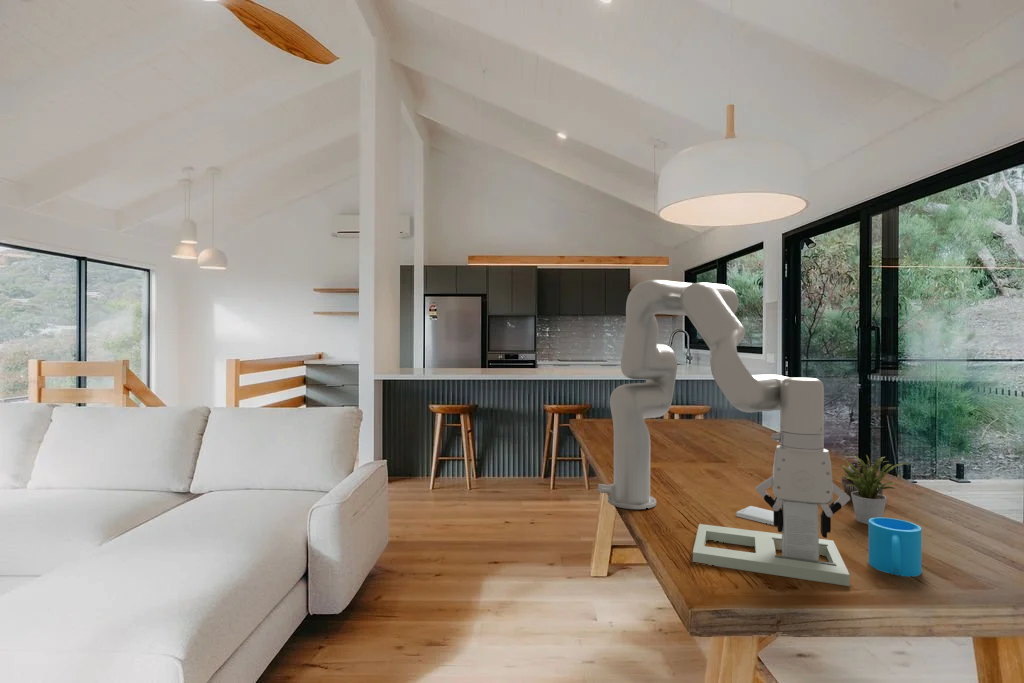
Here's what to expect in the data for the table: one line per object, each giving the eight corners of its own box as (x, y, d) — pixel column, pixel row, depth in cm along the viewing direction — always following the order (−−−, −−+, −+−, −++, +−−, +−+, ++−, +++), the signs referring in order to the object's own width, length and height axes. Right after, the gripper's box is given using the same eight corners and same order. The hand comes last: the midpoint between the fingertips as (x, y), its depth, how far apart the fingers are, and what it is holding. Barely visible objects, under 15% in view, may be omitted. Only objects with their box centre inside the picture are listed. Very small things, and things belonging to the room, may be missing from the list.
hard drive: (735, 511, 133) (788, 524, 123) (751, 505, 138) (802, 516, 129) (735, 518, 133) (788, 531, 123) (751, 511, 138) (802, 523, 129)
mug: (868, 555, 108) (868, 514, 108) (919, 565, 103) (919, 522, 103) (868, 577, 98) (868, 532, 98) (925, 588, 93) (925, 541, 93)
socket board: (692, 562, 104) (692, 551, 104) (699, 532, 121) (699, 522, 121) (849, 586, 94) (849, 573, 94) (833, 550, 110) (833, 539, 110)
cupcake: (888, 507, 140) (888, 469, 140) (845, 503, 143) (845, 466, 143) (879, 498, 149) (879, 461, 149) (838, 494, 152) (838, 459, 152)
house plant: (903, 517, 132) (903, 450, 132) (918, 535, 120) (918, 461, 120) (836, 509, 138) (835, 445, 138) (843, 525, 126) (843, 455, 126)
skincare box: (815, 559, 106) (815, 497, 106) (819, 567, 102) (819, 504, 102) (780, 554, 108) (780, 494, 108) (783, 562, 104) (783, 500, 104)
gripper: (753, 441, 105) (752, 532, 105) (857, 448, 98) (857, 546, 98) (752, 435, 112) (752, 521, 112) (849, 441, 105) (849, 532, 105)
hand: (801, 532), depth 105 cm, fingers open, 7 cm apart
